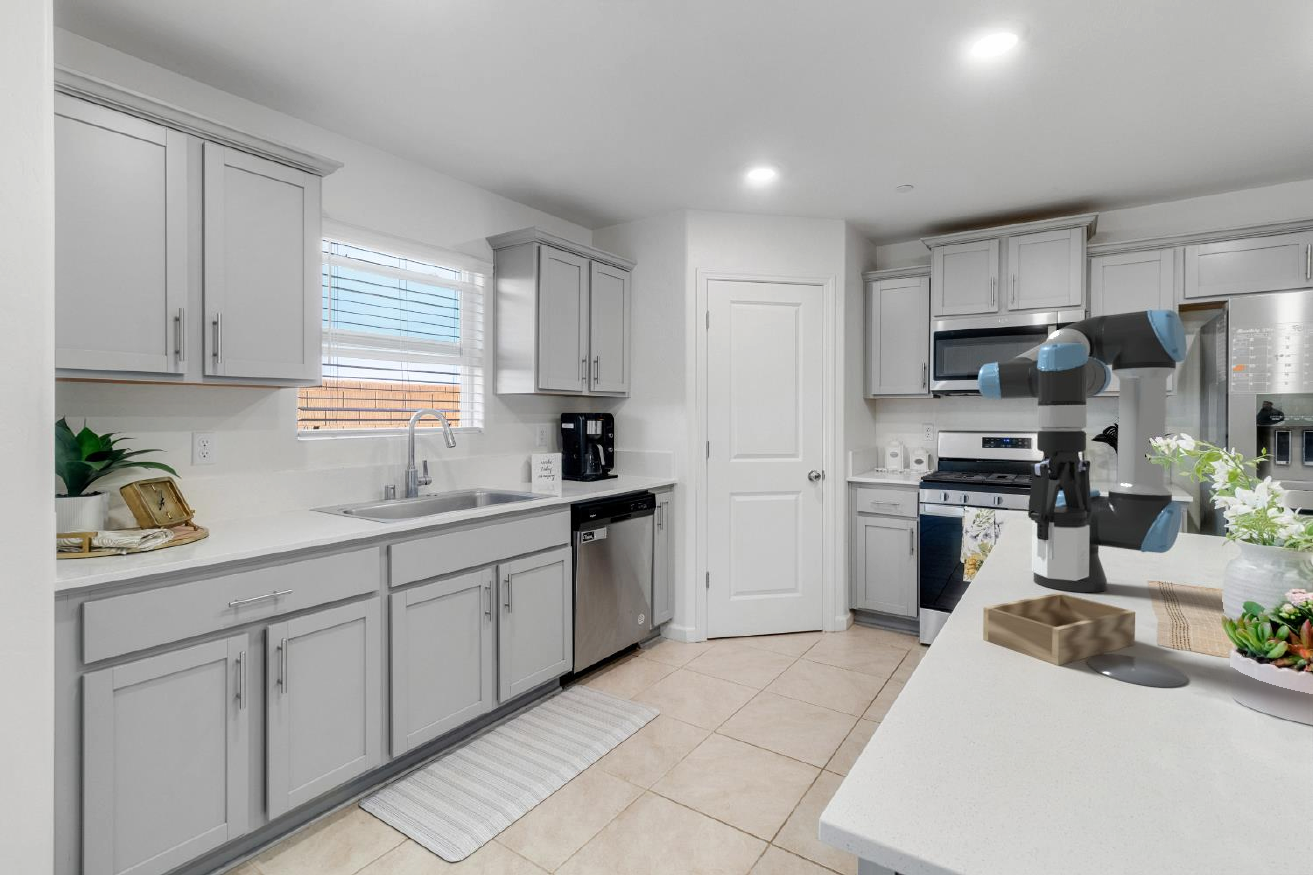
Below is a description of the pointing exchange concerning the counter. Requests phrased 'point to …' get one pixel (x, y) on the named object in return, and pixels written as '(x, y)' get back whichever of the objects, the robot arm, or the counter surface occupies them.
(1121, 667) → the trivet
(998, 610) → the frame
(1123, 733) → the counter surface
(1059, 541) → the jar
